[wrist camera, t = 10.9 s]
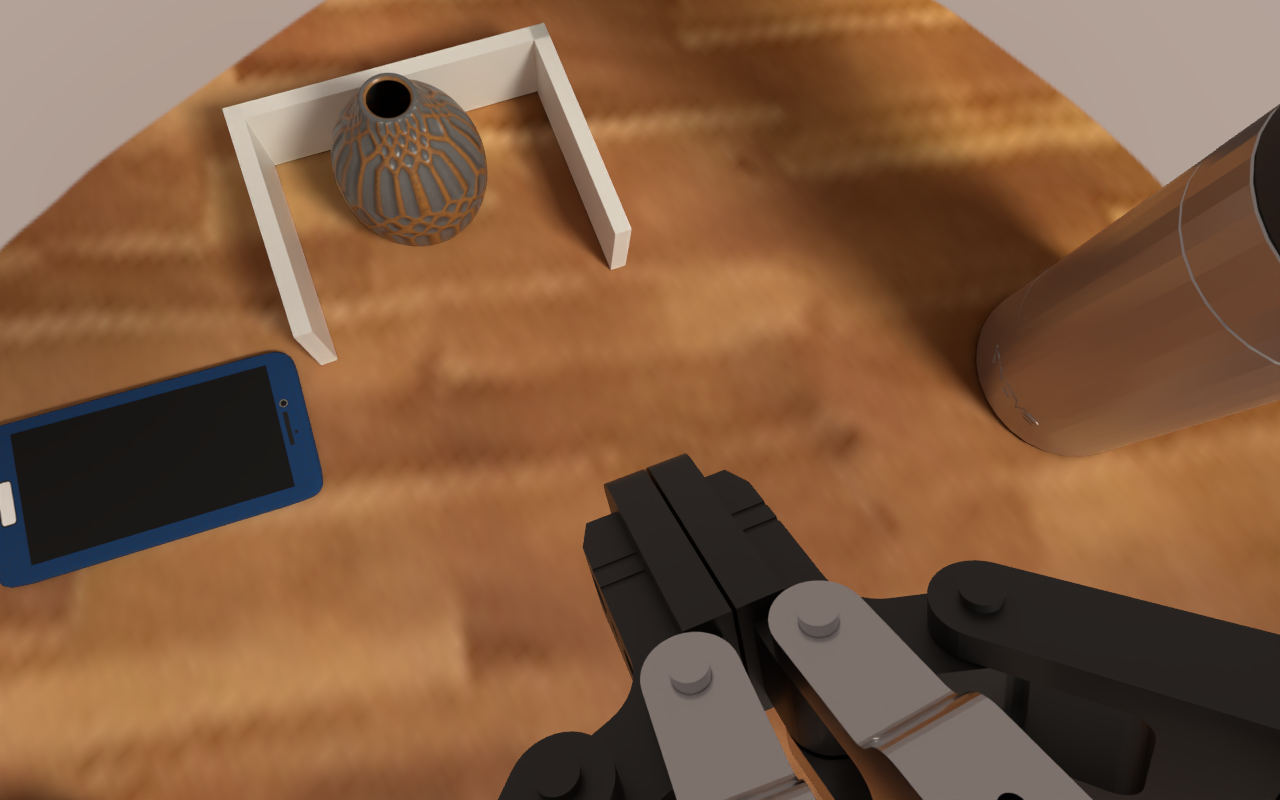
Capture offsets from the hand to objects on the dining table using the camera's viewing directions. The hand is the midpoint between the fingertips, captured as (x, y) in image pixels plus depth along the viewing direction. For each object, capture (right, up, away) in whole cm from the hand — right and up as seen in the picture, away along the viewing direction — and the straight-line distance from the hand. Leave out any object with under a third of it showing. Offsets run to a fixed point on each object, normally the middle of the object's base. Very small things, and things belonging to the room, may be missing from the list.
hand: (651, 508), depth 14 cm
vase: (-11, +12, +27) cm, 32 cm away
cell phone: (-22, -1, +23) cm, 32 cm away
